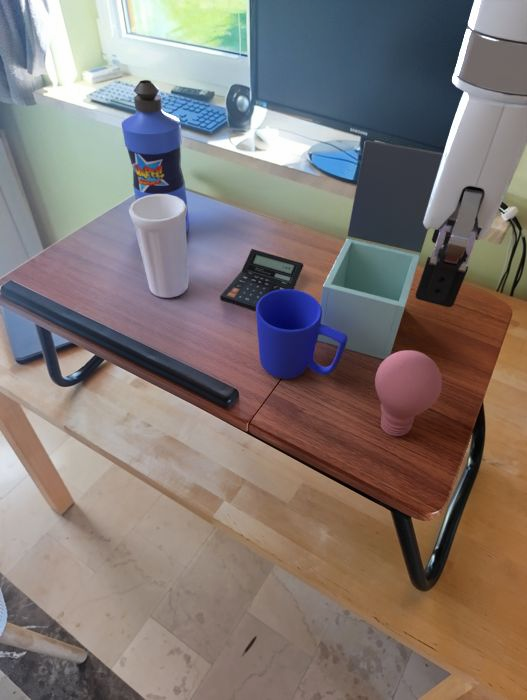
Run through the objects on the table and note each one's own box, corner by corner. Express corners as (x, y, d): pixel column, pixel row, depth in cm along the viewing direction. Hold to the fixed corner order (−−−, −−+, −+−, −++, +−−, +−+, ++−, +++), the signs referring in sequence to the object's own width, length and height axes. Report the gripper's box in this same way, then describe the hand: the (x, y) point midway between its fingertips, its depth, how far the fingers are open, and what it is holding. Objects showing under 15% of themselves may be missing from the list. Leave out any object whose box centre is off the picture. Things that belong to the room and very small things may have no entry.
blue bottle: (179, 243, 86) (162, 94, 69) (131, 236, 88) (103, 87, 70) (196, 218, 93) (184, 76, 75) (151, 211, 94) (130, 70, 76)
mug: (322, 408, 61) (333, 353, 53) (243, 370, 65) (243, 315, 58) (349, 368, 66) (361, 313, 59) (273, 335, 70) (277, 281, 63)
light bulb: (351, 415, 60) (369, 347, 51) (397, 397, 62) (421, 330, 54) (384, 459, 55) (409, 394, 47) (432, 439, 58) (465, 373, 49)
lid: (450, 156, 59) (454, 143, 62) (364, 141, 61) (373, 129, 65) (420, 253, 68) (425, 236, 71) (347, 236, 70) (355, 221, 74)
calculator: (220, 299, 75) (219, 284, 73) (252, 262, 83) (252, 247, 81) (274, 317, 73) (275, 302, 71) (302, 276, 80) (303, 262, 78)
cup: (167, 267, 81) (156, 188, 71) (204, 284, 78) (198, 204, 68) (133, 290, 76) (116, 209, 66) (171, 310, 73) (159, 228, 63)
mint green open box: (388, 361, 67) (404, 307, 60) (315, 340, 69) (322, 286, 62) (403, 307, 75) (420, 254, 68) (338, 290, 78) (347, 237, 71)
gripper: (470, 30, 39) (416, 219, 51) (442, 92, 27) (381, 316, 40) (569, 42, 37) (488, 235, 49) (584, 113, 26) (474, 341, 38)
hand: (440, 271), depth 44 cm, fingers open, 9 cm apart
